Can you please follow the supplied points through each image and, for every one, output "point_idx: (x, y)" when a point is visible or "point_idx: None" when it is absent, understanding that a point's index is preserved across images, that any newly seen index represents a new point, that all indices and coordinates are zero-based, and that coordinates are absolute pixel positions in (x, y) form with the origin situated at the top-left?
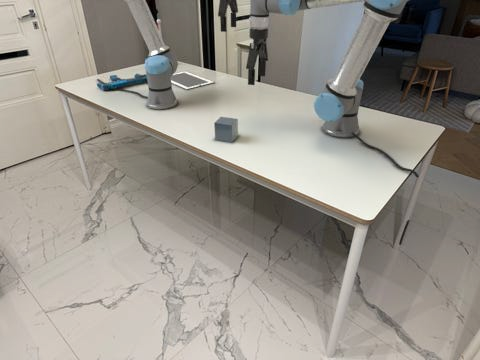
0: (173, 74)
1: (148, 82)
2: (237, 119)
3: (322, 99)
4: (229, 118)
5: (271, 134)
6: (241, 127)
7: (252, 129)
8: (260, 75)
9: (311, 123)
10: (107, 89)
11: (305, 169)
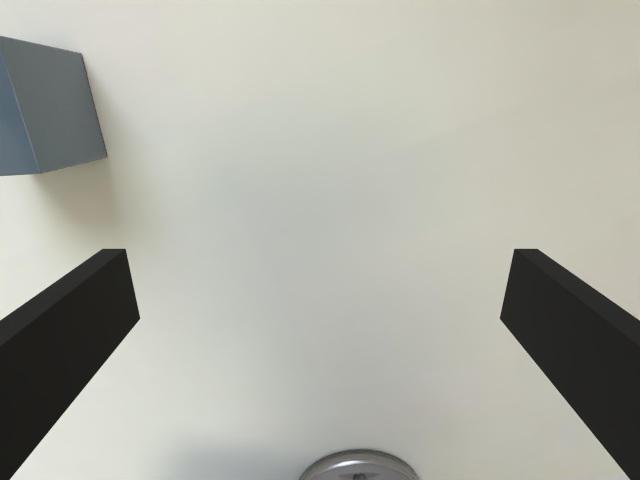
0: None
1: None
2: (36, 173)
3: None
4: (9, 116)
5: (206, 296)
6: (208, 133)
7: (213, 198)
8: (512, 271)
9: (389, 406)
10: None
11: None
